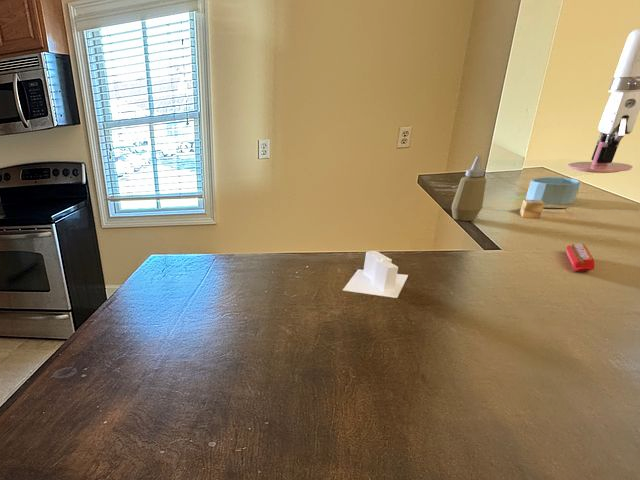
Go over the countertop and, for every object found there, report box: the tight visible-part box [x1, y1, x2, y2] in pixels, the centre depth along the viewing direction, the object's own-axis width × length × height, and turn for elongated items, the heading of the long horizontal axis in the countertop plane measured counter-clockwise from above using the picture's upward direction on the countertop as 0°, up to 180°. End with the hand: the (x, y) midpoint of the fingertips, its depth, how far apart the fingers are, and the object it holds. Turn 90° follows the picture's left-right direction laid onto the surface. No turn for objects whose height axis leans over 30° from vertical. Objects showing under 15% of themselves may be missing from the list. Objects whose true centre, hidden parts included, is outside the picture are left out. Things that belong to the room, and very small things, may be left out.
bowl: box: [525, 176, 583, 210], centre depth 153 cm, size 13×13×8 cm
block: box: [519, 199, 545, 219], centre depth 144 cm, size 4×4×4 cm
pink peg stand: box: [566, 141, 633, 174], centre depth 131 cm, size 14×14×7 cm
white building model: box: [342, 250, 409, 299], centre depth 106 cm, size 15×11×6 cm
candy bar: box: [565, 243, 595, 273], centre depth 109 cm, size 16×4×3 cm, turn 150°
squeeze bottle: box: [451, 155, 487, 222], centre depth 143 cm, size 8×8×18 cm
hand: (601, 160), depth 131 cm, fingers closed on pink peg stand, 3 cm apart
